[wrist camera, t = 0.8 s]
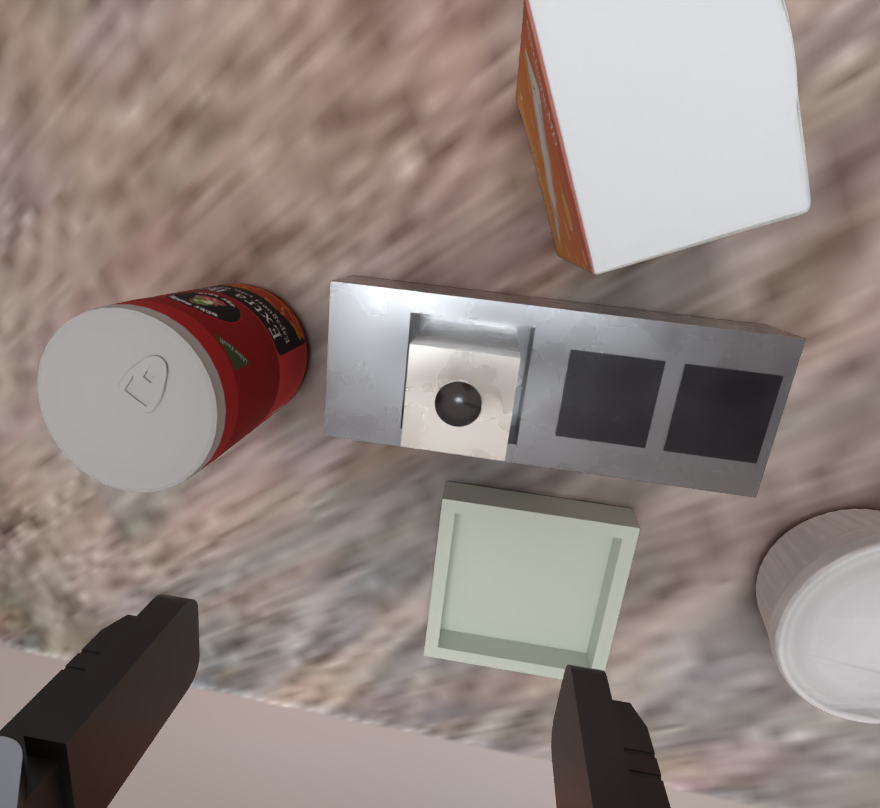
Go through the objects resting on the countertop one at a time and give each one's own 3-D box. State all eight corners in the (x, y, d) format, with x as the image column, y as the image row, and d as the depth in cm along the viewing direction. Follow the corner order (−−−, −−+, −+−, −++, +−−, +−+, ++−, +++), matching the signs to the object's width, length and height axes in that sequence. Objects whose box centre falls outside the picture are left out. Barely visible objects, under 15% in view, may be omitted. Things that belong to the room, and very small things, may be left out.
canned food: (330, 315, 31) (242, 355, 21) (287, 434, 34) (188, 524, 23) (206, 258, 31) (53, 270, 20) (171, 382, 33) (19, 449, 23)
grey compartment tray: (765, 324, 29) (806, 339, 25) (725, 465, 31) (756, 498, 27) (352, 275, 30) (330, 281, 26) (345, 412, 33) (323, 436, 29)
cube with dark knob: (517, 329, 29) (520, 358, 22) (505, 411, 30) (504, 462, 24) (431, 319, 29) (409, 344, 23) (423, 400, 31) (400, 447, 24)
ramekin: (757, 671, 35) (799, 744, 30) (716, 520, 32) (755, 573, 27) (956, 632, 32) (1038, 704, 27) (929, 466, 30) (1015, 513, 25)
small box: (512, 97, 27) (518, -20, 14) (645, 46, 26) (775, -130, 13) (555, 260, 29) (593, 280, 16) (680, 220, 28) (822, 209, 15)
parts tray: (631, 508, 32) (640, 528, 30) (595, 658, 36) (601, 686, 34) (446, 481, 33) (442, 498, 31) (428, 630, 37) (423, 655, 34)
